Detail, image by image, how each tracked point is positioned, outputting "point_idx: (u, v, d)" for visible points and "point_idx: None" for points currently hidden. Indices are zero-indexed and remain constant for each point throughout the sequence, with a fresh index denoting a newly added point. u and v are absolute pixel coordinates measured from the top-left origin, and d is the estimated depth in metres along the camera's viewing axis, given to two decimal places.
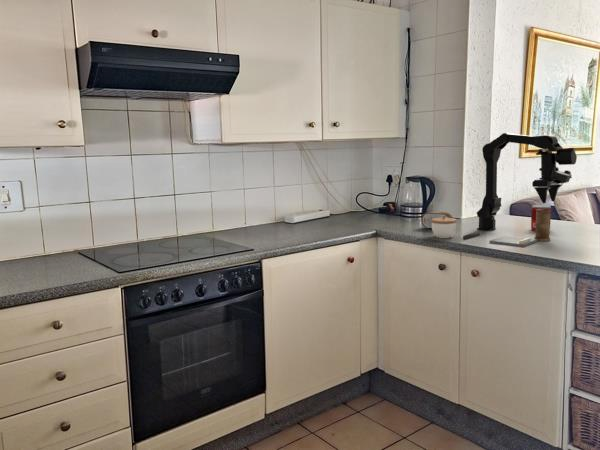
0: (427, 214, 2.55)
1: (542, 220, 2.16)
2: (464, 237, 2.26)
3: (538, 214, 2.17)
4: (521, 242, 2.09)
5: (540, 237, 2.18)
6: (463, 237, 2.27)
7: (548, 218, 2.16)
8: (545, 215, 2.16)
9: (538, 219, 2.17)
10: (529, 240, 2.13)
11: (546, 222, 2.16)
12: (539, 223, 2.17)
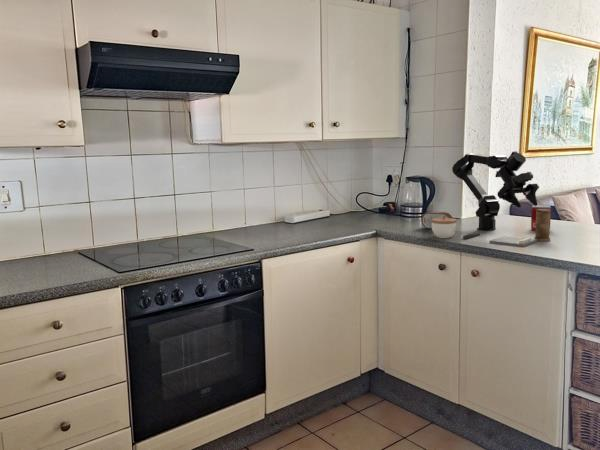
0: (427, 214, 2.55)
1: (542, 220, 2.16)
2: (464, 237, 2.26)
3: (538, 214, 2.17)
4: (521, 242, 2.09)
5: (540, 237, 2.18)
6: (463, 237, 2.27)
7: (548, 218, 2.16)
8: (545, 215, 2.16)
9: (538, 219, 2.17)
10: (529, 240, 2.13)
11: (546, 222, 2.16)
12: (539, 223, 2.17)
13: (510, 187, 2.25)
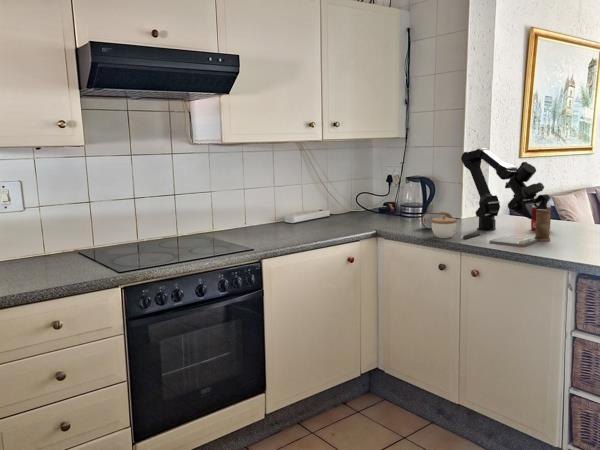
0: (427, 214, 2.55)
1: (542, 219, 2.16)
2: (464, 237, 2.26)
3: (538, 214, 2.17)
4: (521, 242, 2.09)
5: (540, 237, 2.18)
6: (463, 237, 2.27)
7: (548, 218, 2.16)
8: (545, 215, 2.16)
9: (538, 219, 2.17)
10: (529, 240, 2.13)
11: (546, 222, 2.16)
12: (539, 223, 2.17)
13: (521, 198, 2.20)
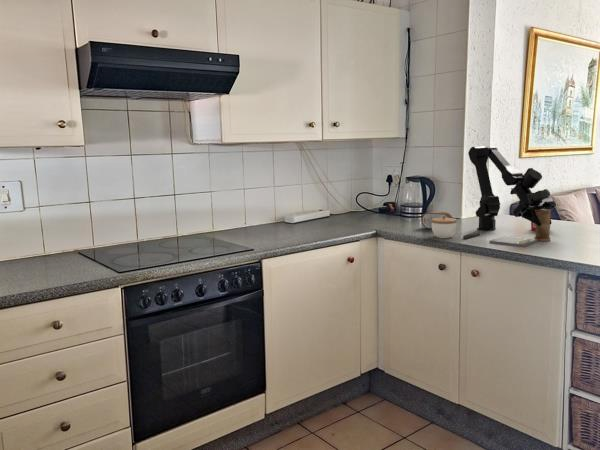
0: (427, 214, 2.55)
1: (542, 219, 2.16)
2: (464, 237, 2.26)
3: (538, 214, 2.17)
4: (521, 242, 2.09)
5: (540, 237, 2.18)
6: (463, 237, 2.27)
7: (548, 218, 2.16)
8: (545, 215, 2.16)
9: None
10: (529, 240, 2.13)
11: (546, 222, 2.16)
12: None
13: (526, 205, 2.17)
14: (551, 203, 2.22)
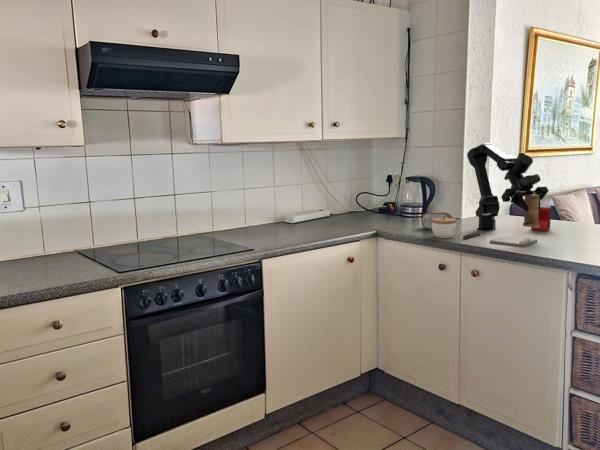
0: (427, 214, 2.55)
1: (529, 205, 2.14)
2: (464, 237, 2.26)
3: (526, 199, 2.15)
4: (521, 242, 2.09)
5: (528, 222, 2.16)
6: (463, 237, 2.27)
7: (536, 203, 2.14)
8: (532, 200, 2.13)
9: (526, 204, 2.15)
10: (529, 240, 2.13)
11: (534, 207, 2.14)
12: None
13: (514, 190, 2.16)
14: (543, 189, 2.19)
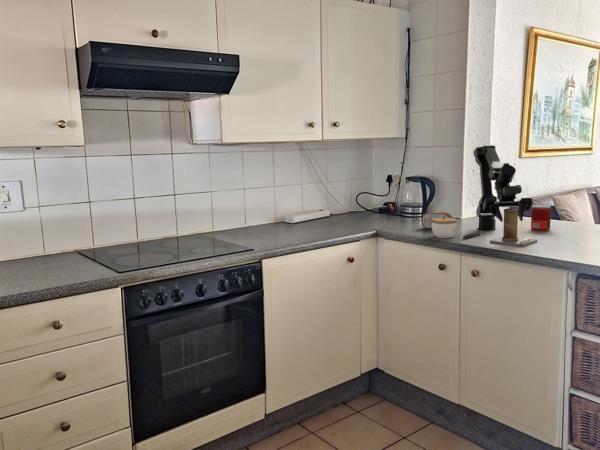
0: (427, 214, 2.55)
1: (506, 219, 2.14)
2: (464, 237, 2.26)
3: (504, 213, 2.15)
4: (521, 242, 2.09)
5: (505, 237, 2.15)
6: (463, 237, 2.27)
7: (513, 218, 2.13)
8: (509, 214, 2.13)
9: (504, 218, 2.15)
10: (529, 240, 2.13)
11: (510, 222, 2.13)
12: (504, 222, 2.15)
13: (492, 200, 2.17)
14: (526, 200, 2.16)
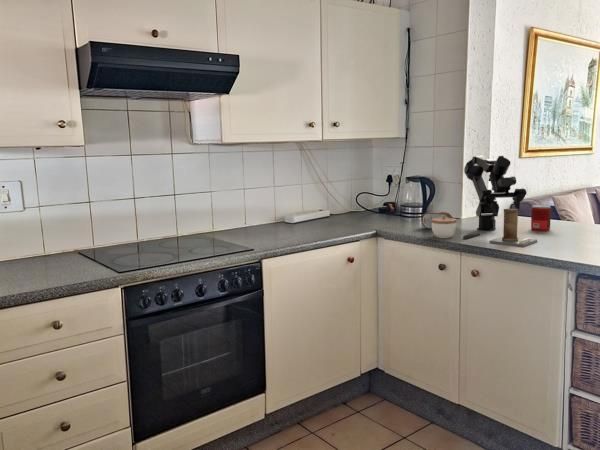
0: (427, 214, 2.55)
1: (506, 219, 2.14)
2: (464, 237, 2.26)
3: (504, 213, 2.15)
4: (521, 242, 2.09)
5: (505, 237, 2.15)
6: (463, 237, 2.27)
7: (513, 218, 2.13)
8: (509, 214, 2.13)
9: (504, 218, 2.15)
10: (529, 240, 2.13)
11: (510, 222, 2.13)
12: (504, 222, 2.15)
13: (489, 191, 2.26)
14: (520, 190, 2.26)
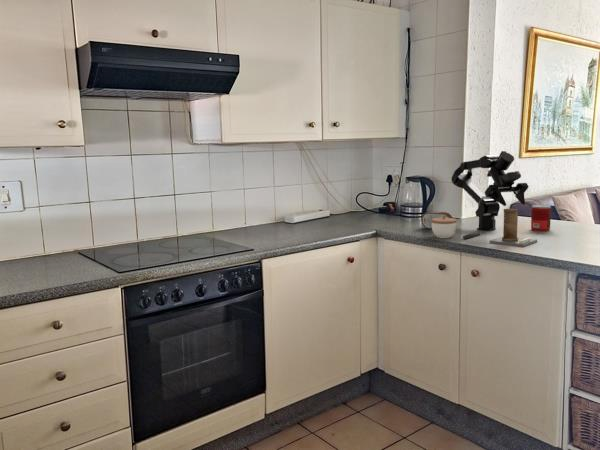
0: (427, 214, 2.55)
1: (506, 219, 2.14)
2: (464, 237, 2.26)
3: (504, 213, 2.15)
4: (521, 242, 2.09)
5: (505, 237, 2.15)
6: (463, 237, 2.27)
7: (513, 218, 2.13)
8: (509, 214, 2.13)
9: (504, 218, 2.15)
10: (529, 240, 2.13)
11: (510, 222, 2.13)
12: (504, 222, 2.15)
13: (496, 186, 2.29)
14: (523, 185, 2.32)
